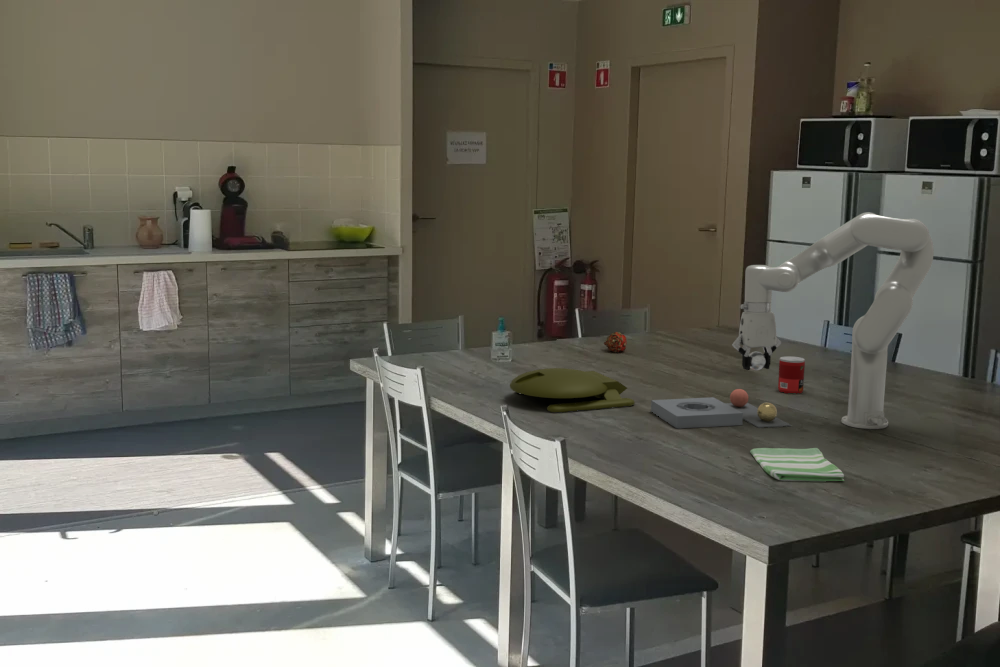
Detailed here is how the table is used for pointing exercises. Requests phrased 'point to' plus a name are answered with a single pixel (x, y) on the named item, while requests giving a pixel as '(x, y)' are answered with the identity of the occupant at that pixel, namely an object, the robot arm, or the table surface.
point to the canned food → (791, 374)
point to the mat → (752, 417)
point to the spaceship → (571, 388)
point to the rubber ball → (739, 397)
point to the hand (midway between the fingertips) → (756, 368)
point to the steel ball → (757, 360)
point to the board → (696, 412)
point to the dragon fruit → (616, 342)
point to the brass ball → (767, 412)
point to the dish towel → (796, 464)
